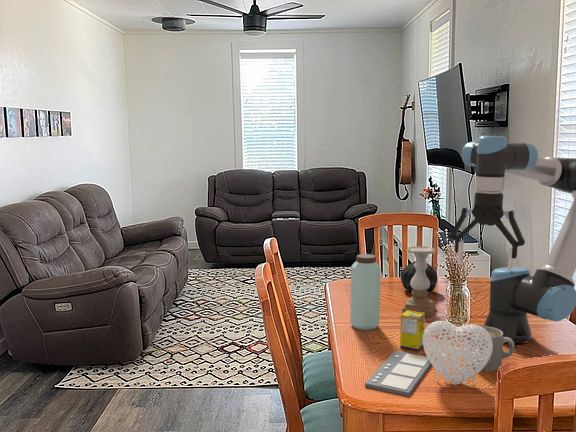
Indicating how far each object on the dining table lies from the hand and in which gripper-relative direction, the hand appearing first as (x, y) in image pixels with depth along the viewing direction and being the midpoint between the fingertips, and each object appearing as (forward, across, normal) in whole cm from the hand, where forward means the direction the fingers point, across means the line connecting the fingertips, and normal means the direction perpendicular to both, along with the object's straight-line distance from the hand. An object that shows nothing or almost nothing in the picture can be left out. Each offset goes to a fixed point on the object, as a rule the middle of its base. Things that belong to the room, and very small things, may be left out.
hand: (484, 266), depth 166 cm
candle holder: (+30, +30, -43) cm, 60 cm away
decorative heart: (+30, +3, +15) cm, 34 cm away
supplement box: (+30, +21, -6) cm, 37 cm away
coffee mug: (+30, -3, -3) cm, 30 cm away
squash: (+29, +37, -68) cm, 82 cm away
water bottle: (+30, +41, -17) cm, 54 cm away
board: (+30, +18, +15) cm, 38 cm away
